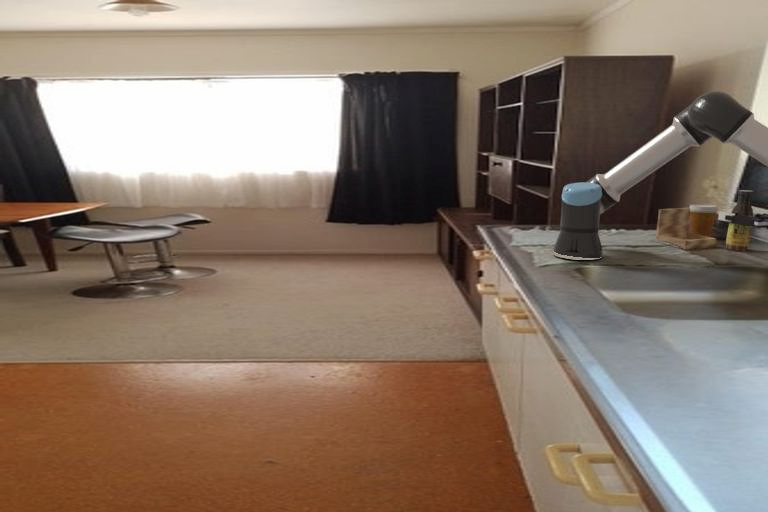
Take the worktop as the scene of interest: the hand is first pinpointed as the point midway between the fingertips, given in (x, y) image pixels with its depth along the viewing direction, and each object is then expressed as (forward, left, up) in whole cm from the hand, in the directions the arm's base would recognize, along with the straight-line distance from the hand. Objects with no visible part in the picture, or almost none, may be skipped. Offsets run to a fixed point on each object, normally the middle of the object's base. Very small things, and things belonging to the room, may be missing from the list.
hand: (727, 215), depth 168 cm
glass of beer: (+7, +17, -11) cm, 21 cm away
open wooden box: (-9, +7, -11) cm, 16 cm away
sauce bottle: (0, -5, -11) cm, 12 cm away
